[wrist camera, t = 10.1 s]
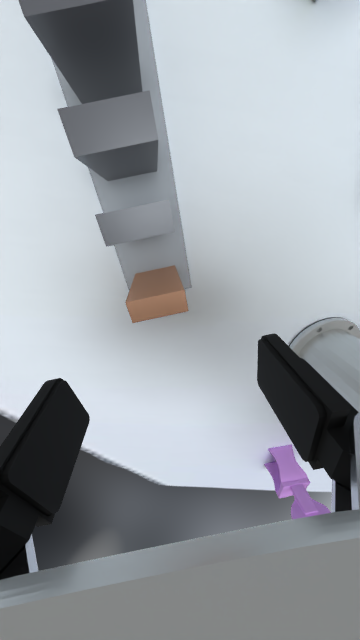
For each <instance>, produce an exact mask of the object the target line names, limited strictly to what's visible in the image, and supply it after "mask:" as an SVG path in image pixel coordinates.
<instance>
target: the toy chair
mask: <svg viewBox="0 0 360 640" xmlns="http://www.w3.org/2000/svg"><path fill="white" fill-rule="evenodd" d="M268 450H269V451H270V453H271V454H272V455H273V457H274V458H275V460H276V462H272V463H267V464H264V465H265V467H266V468H267V469H268V471H269V472H270V474H271V476H272V478H273V480H274V484H275V490H276V493H277V495H278V497H279V498H283V497H287V496H291V495H294V497H295V500H294V503H293V504H292V506H291V507H292V509H291V517H292V519H298V518H304V517H309V516H315V515H321V514H326V513H331V512H330V511H329V509H328V508H327V507H326V506H324V505H323V504H321V503H319V502H317V501H315V500H313V499H311V498H310V496H309V494H308V492H307V491H306V488H307V486H308V485H309V483H310V481H309V479H308V478H307V475H306V473H305V472H304V471H303V469H302V468H301V467H300V466H299V465H298V463H297V462H296V460H295V457H294V454H293V450H292V445H286V446H281V447H275V448H269V449H268Z"/></svg>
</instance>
